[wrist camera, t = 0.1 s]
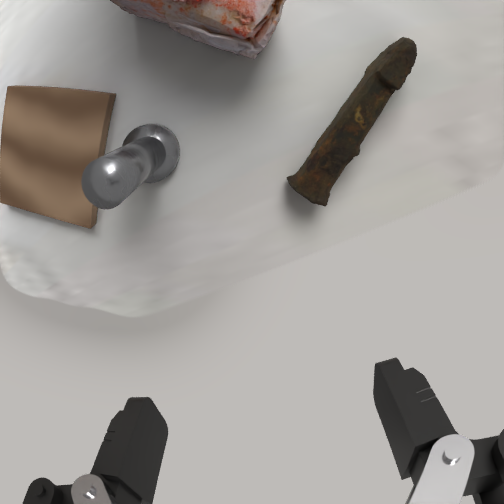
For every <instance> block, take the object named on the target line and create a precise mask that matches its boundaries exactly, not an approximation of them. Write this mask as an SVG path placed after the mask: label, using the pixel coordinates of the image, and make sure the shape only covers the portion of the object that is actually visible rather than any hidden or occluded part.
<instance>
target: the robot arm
mask: <svg viewBox="0 0 504 504" xmlns="http://www.w3.org/2000/svg"><path fill="white" fill-rule="evenodd" d="M374 372H375V373H374V389H373V395H374V401H375V406H376V409H377V411H378V414H379V417H380V419H381V422H382V425H383V427H384V430H385V433H386V436H387V438H388V441H389V444H390V447H391V449H392V452H393V455H394V458H395V461H396V464H397V467H398V470H399V473H400V476H401V479H402V480H403V479H406V478H408V477H411V478H412V481H413V484H414V486H413V488H412V490H411V492H410V494H409V497H408V499H407V501H406V503H405V504H460V502H461V499H462V496H467V495H473V498H474V501H475V504H504V429H503V431H502V432H501V433H500V435H499V436H494V437H489V438H484V439H478V440H471V439H468V438H466V437H465V436H462V435H459V434H458V433H457V432H456V431H455V429H454V428H453V426H452V424H451V422H450V420H449V418H448V417H447V415H446V413H445V411H444V409H443V408H442V406H441V404H440V402H439V400H438V399H437V398H436V396H435V393H434V392H433V390H432V389H431V388H430V385H429V383H428V382H427V380H426V378H425V376H424V375H423V374H421V373H420V372H419V371H417V370H416V369H414V368H410V369H407V370H404V369H403V367H402V365H401V363H400V362H399V360H398V359H397V358H393V359H389V360H386V361H382V362H379V363H376V364H375V371H374ZM167 437H168V427H167V424H166V421H165V420H164V418H163V417H162V415H161V414H160V412H159V411H158V409H157V407H156V406H155V404H154V403H153V401H152V400H151V399H150V398H149V397H136V398H135V397H132V398H129V399H128V400H127V403H126V405H125V408H124V410H123V411H119V412H118V413H117V414H116V415H115V417H114V418H113V419H112V420H111V422H110V425H109V427H108V430H107V433H106V435H105V437H104V441H103V442H102V445H101V447H100V450H99V452H98V455H97V457H96V460H95V462H94V466H93V468H92V470H91V472H90V474H87V475H83V476H81V477H79V478H78V479H76V480H75V482H74V483H73V484H71V485H59V486H56V485H54V484H53V483H52V482H51V481H50V480H48V479H46V478H38V479H36V480H34V481H33V482H32V483H31V484H30V486H29V488H28V491H27V493H26V496H25V499H24V501H23V504H152V502H153V498H154V494H155V489H156V485H157V480H158V476H159V471H160V467H161V463H162V458H163V454H164V450H165V446H166V441H167Z"/></svg>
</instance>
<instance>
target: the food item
mask: <svg viewBox="0 0 504 504" xmlns="http://www.w3.org/2000/svg"><path fill="white" fill-rule="evenodd" d="M110 1H112V2H113V3H115V4H116V5H118V6H120V8H121V9H123V10H125V11H127V12H128V13H129V14H135V15H137V16H139V17H142V18H148V19H152V20H155V21H158V22H161V23H167V24H168V25H169V26H170V28H172V29H173V30H174V31H176V32H179V33H181V34H182V35H185V36H189V37H191V38H192V39H194V40H195V41H199V42H202V43H205V44H208V45H211V46H214V47H216V48H219V49H221V50H226V51H230V52H233V53H235V54H237V55H238V54H240V55H243V56H247V57H249V58H252V59H255V58H256V57H257V55H258V54H259V53H260V51H261V50H262V49H263V48H264V47H265V46H266V45H267V43H268V41H269V39H270V38H271V36H272V34H273V32H274V30H275V28H276V26H277V24H278V22H279V20H280V17H281V13H282V8H283V4H284V2H285V1H286V0H110Z"/></svg>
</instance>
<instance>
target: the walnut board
mask: <svg viewBox="0 0 504 504" xmlns="http://www.w3.org/2000/svg"><path fill="white" fill-rule="evenodd" d="M115 97H116V94H113V93H106V92H98V91H90V90H80V89H70V88H58V87H42V86H8V87H7V93H6V99H5V107H4V114H3V123H2V134H1V149H0V203H3V204H7V205H10V206H13V207H17V208H20V209H24V210H27V211H30V212H34V213H37V214H41V215H44V216H48V217H51V218H54V219H58V220H61V221H65V222H68V223H72V224H76V225H79V226H83V227H86V228H90V229H91V228H92V227H93V226H94V225H95V224H96V221H97V209H98V207H96V206H94V205H93V204H91V203H90V202H89V201H88V199H87V198H86V197H85V195H84V192H83V190H82V184H81V180H82V174H83V172H84V169H85V168H86V166H87V165H88V164H89V163H90V162H92V161H93V160H95V159H97V158H99V157H102V156H104V152H105V146H106V141H107V135H108V130H109V124H110V119H111V115H112V110H113V105H114V101H115Z"/></svg>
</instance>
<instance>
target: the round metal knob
mask: <svg viewBox="0 0 504 504" xmlns="http://www.w3.org/2000/svg"><path fill="white" fill-rule="evenodd" d="M179 156H180V148H179V143H178V141H177V139H176V137H175V135H174V134H173V133H172V132H171V131H170V130H169V129H168V128H166V127H164V126H162V125H159V124H146V125H143V126H140V127H138V128H136V129H134V130H133V131H131V132H130V133H129V134H128V136H127V137H126V139H125V140H124V143H123V146H122V147H120V148H118V149H116V150H114V151H112V152H110V153H108V154H106V155H104V156H102V157H99V158H97V159H95V160H93V161H92V162H90V163H89V164H88V165H87V166H86V168H85V169H84V172H83V174H82V180H81V184H82V190H83V192H84V195H85V197H86V198H87V199H88V201H89V202H90V203H91V204H93V205H94V206H96V207H98V208H101V209H111V208H114V207H116V206H118V205H119V204H120V203H121V202H122V201H123V200H124V199H126V198H127V197H128V196H129V195H130V194H131V193H132V192H133V191H134V190H135V189H136V188H137V187H138V186H140V185H141V184H142V183H143V182H146V183H152V182H157V181H160V180H162V179H164V178H165V177H167V176H168V175H169V174H170V173H171V172H172V171H173V170H174V168H175V167H176V165H177V163H178V160H179Z"/></svg>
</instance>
